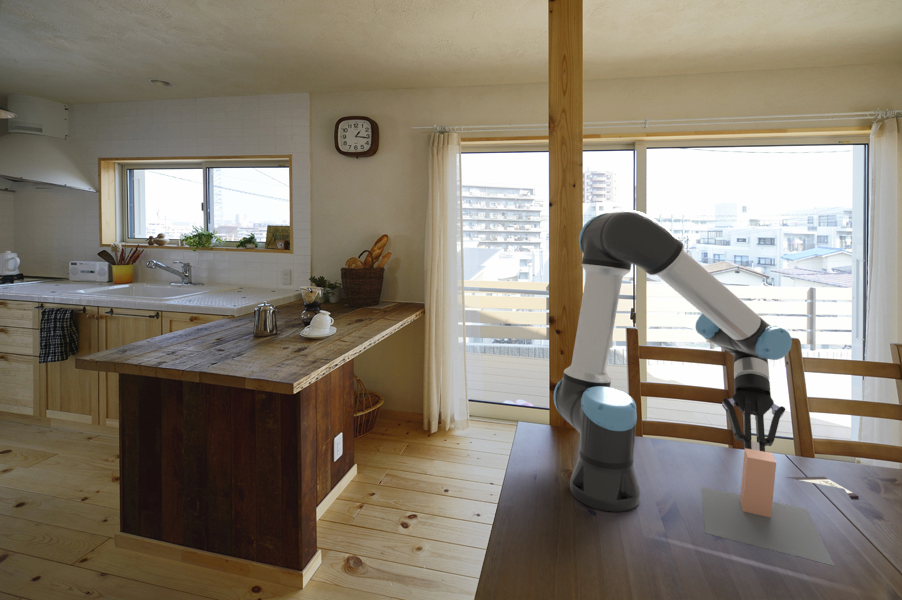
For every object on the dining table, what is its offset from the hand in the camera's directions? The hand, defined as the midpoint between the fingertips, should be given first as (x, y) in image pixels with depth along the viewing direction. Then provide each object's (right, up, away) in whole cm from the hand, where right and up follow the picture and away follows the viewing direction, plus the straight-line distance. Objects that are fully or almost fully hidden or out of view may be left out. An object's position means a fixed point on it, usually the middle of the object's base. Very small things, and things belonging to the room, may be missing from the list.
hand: (755, 471), depth 102 cm
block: (-3, -7, -4) cm, 8 cm away
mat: (-5, -8, -8) cm, 12 cm away
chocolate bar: (+16, -7, +6) cm, 18 cm away
